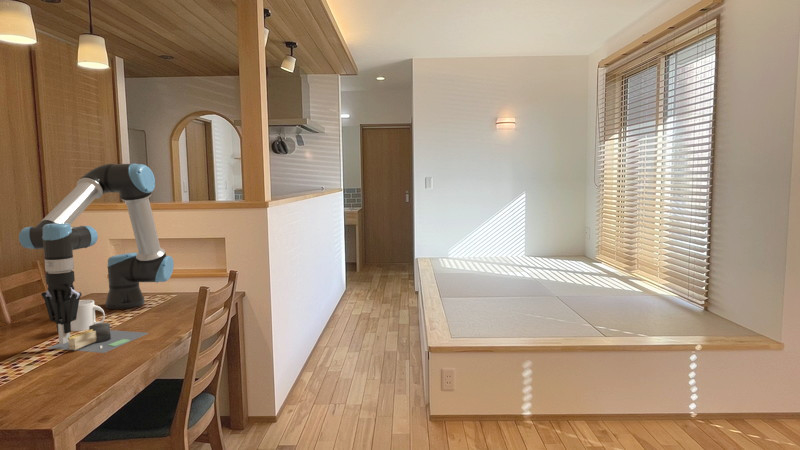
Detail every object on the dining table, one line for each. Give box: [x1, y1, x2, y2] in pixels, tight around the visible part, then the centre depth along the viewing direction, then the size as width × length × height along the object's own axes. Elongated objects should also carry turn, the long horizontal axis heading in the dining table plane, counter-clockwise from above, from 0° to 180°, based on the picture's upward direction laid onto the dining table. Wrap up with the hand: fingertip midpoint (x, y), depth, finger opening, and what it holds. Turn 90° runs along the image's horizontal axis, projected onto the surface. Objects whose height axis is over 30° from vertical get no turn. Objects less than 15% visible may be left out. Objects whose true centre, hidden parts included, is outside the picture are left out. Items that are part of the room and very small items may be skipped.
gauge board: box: [47, 329, 149, 354], centre depth 161 cm, size 20×22×1 cm
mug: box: [71, 299, 106, 332], centre depth 175 cm, size 9×12×11 cm
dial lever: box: [68, 322, 111, 351], centre depth 157 cm, size 15×6×5 cm, turn 169°
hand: (64, 342), depth 154 cm, fingers closed
